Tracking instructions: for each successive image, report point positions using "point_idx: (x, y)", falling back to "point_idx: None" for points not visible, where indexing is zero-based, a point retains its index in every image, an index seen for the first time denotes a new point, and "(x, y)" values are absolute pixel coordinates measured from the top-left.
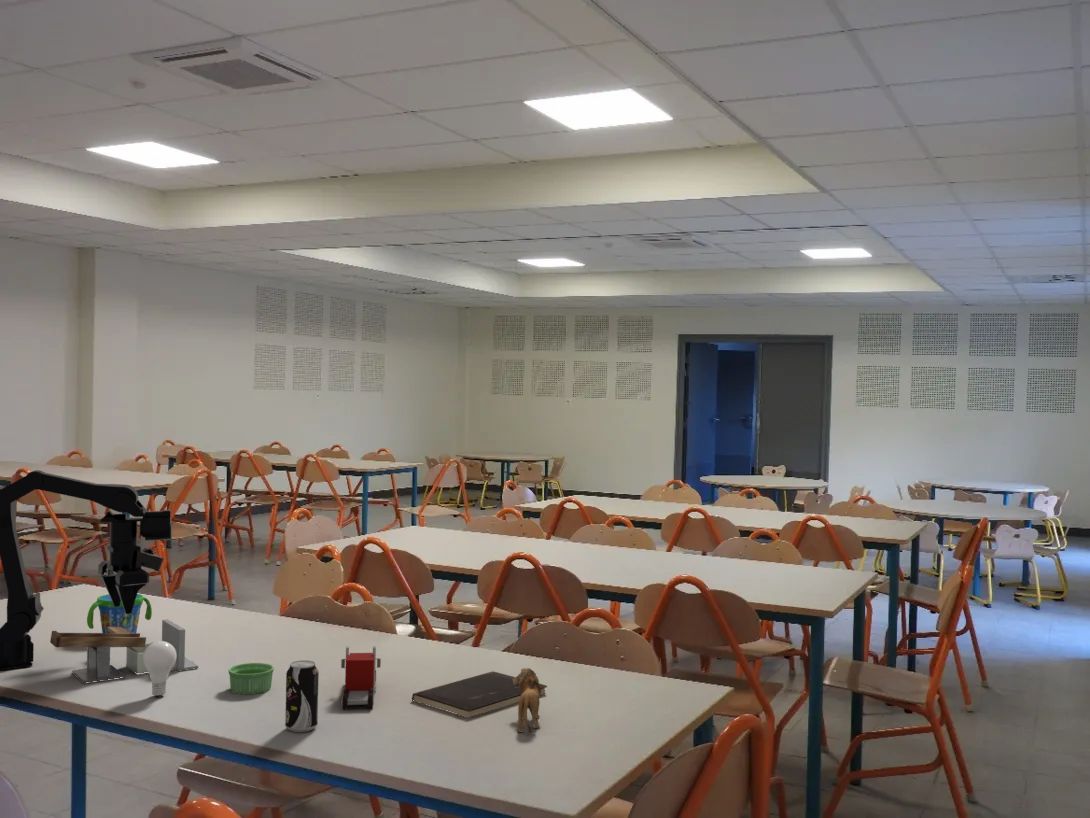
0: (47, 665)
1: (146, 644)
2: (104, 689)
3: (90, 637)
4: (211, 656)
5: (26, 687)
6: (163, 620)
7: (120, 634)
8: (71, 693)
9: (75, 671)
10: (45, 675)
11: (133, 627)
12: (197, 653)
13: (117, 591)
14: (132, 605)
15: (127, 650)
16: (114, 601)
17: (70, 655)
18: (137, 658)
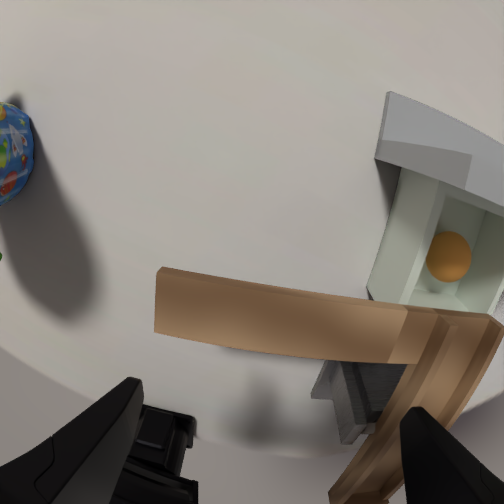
0: (198, 398)
1: (423, 260)
2: None
3: None
4: (440, 31)
5: (335, 448)
6: (478, 194)
7: (423, 391)
8: None
9: (328, 396)
10: (283, 422)
11: (10, 121)
12: (378, 26)
13: (95, 473)
14: (450, 441)
15: None
16: (135, 429)
17: (126, 333)
18: None
